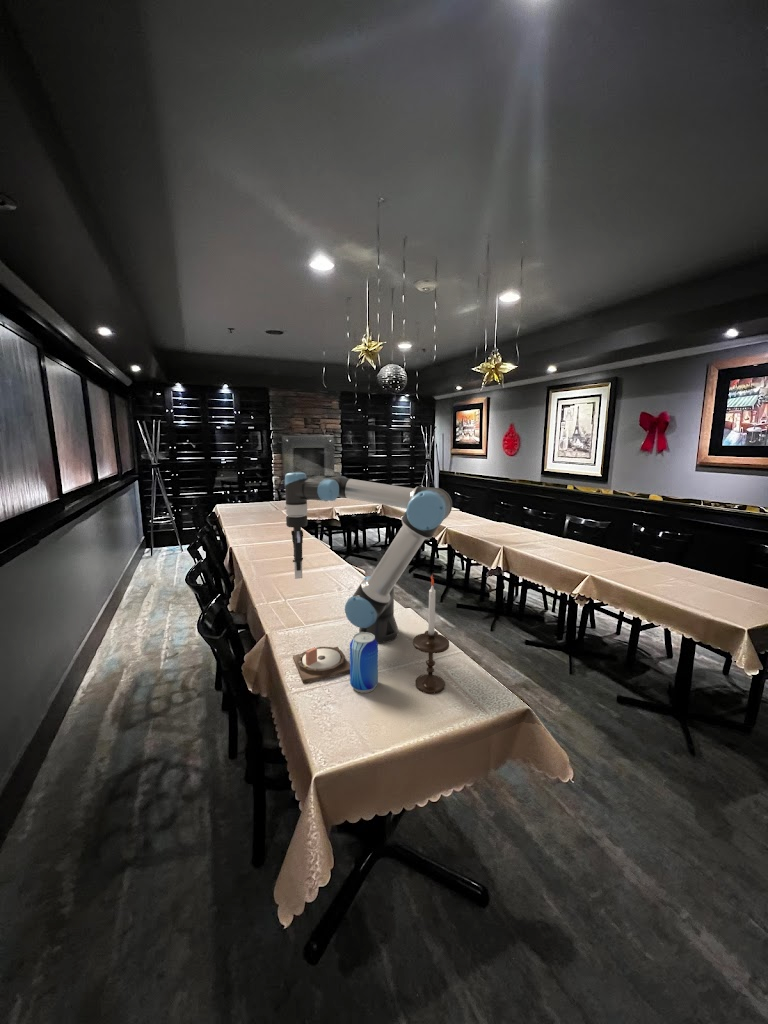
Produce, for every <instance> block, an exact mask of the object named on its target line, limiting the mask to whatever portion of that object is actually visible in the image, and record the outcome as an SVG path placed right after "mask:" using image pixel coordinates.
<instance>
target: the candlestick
mask: <svg viewBox="0 0 768 1024" xmlns="http://www.w3.org/2000/svg"><path fill="white" fill-rule="evenodd" d="M433 576H434V575H433V574H431V576H430V579H431V582H430V584H431V587H430V589H429V590H428V619H427V620H428V625H427V626H428V629H427V630H425V631H424V633H420V634H417V635H415V636H414V637H413V639H412V646H413V647H414V648H415V649H416V650H417V651H419V652H423V653H426V654H428V658H427V659H426V660H425V663H426V666H427V667H426V669H425V671H426V672H427V674H421V675H419V676H418V677H416V678H415V683H414V685H415V688H416V689H417V690H418V691H419V692H421V693H424V694H428V695H435V694H440V693H441V692H443V691H444V689H445V688H446V682H445V680H444V679H443V678H442V677H441V676H438V675H436V674H433V673H434V672H435V668H434V667H435V665H436V661H435V660H434V654H440V653H444V652H446V651H448V650H449V648H450V640H449V638H447V637H446V636H444V635H442V634H439V632H438V631H436V630H435V625H436V623H435V621H436V589H435V588H434V587H435V586H434V584H435V580H434V577H433Z"/></svg>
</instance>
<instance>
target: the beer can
mask: <svg viewBox="0 0 768 1024" xmlns="http://www.w3.org/2000/svg"><path fill="white" fill-rule="evenodd" d="M349 665H350V673H349V676H350V677H349V684H350V686H351V687H352V689H353V690H354V691H355V692H357V693H360V694H361V693H362V694H365V693H366V694H367V693H371V692H373V691H374V690H375V688H376V687H377V686H378V684H379V643H377V641H376V639H375V636H374V635H373V634H371V633H368V632H361V633H359V632H357V633H354V635H353V636H352V639H351V641H350V643H349Z"/></svg>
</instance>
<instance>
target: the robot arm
mask: <svg viewBox="0 0 768 1024" xmlns="http://www.w3.org/2000/svg"><path fill="white" fill-rule="evenodd" d="M284 491H285V493H284V494H285V506H284V507H283V510H285V515H286V518H285V519H286V520H285V525H286V527H288V528H293V529H292V530H291V532H290V533H291V537H292V539H291V541H292V545H293V557H294V558H293V560H292V563H294V564H293V566H294V569H293V570H294V579H296V580H297V579H303V560H304V557H303V541H304V540H303V537H304V531H303V529H302V528H305V527H307V526H308V501H309V500H311V501H324V502H334V501H336V500H337V498H343V499H349V500H356V501H360V502H366V503H371V504H372V503H373V504H379V505H383V506H389V507H395V508H401V509H406V511H405V512H404V514H403V515H402V517H401V519H400V520H401V524H402V526H401V527H400V529H399V530H398V532H397V533H396V535H395V537H394V539H392V542H391V543H390V545H389V546H388V548H387V549H386V551H385V553H384V554H383V556H382V557H381V559H380V560H379V562H378V563H377V565H376V567H375V568H374V570H373V572H372V573H371V575H367V576H364V578H363V580H362V581H361V583H359V586H358V587H357V589H356V591H355V592H354V594H353V595H351V597H349V598H348V599H347V601H346V602H345V605H344V612H345V616H346V618H347V620H348V622H350V623H351V624H352V625H353V626H355V627H357V628H359V630H358V631H359V632H358V633H361V632H368V633H371V634H373V635H374V636H375V639H376V641H377V643H378V644H382V643H387V642H388V643H389V642H391V641H394V640H396V638H397V637H398V636H399V628H398V624H397V622H396V621H397V620H396V618H395V616H394V615H395V613H394V612H395V611H394V607H395V605H394V604H395V599H394V598H395V585H396V584H397V582H398V580H399V579H400V578H401V577H402V574H404V571H405V570H406V569H407V567H408V566H409V564H410V563H411V561H412V559H413V558H414V556H416V554H417V552H418V550H419V549H420V548H421V546H422V545H423V543H424V541H426V540H428V539H432V538H433V536H434V535H435V533H436V532H437V530H438V529H439V527H440V526H441V524H443V521H445V520H446V519H447V518H448V517H449V515H450V513H452V512H451V511H452V509H453V500H452V498H451V496H450V494H449V493H448V492H447V491H445V490H444V489H443V488H440V487H428V486H426V487H425V486H420V485H419V486H416V487H415V488H412V487H407V486H400V485H392V484H387V483H380V482H374V481H367V480H360V479H353V478H348V477H346V476H343V475H335V476H332V477H327V478H325V477H324V478H308V477H307V474H306V473H305V472H288V473H285V476H284Z"/></svg>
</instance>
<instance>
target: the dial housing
mask: <svg viewBox="0 0 768 1024" xmlns="http://www.w3.org/2000/svg"><path fill="white" fill-rule="evenodd" d="M316 648H317V649H322V648H326V649H332V650H335V651H337V652H338V653H339V654H340V657H341V661H340V663H338V664H336V665H335V666H333V667H330V668H325V669H317V668H315V669H310V668H308V667H307V666H304V665H303V664H302V658H303V656H304V655H305V654H306V651H308V650H310V649H311V648H309V649H307V650H306V651H303V652H301V653H298V654H294V655H292V660H293V663H294V665H295V667H296V670H297V672H298V674H299V678H300V679H301V682H302V684H307V683H311V682H315V681H320V680H321V681H322V680H324V679H329V678H334V677H338V676H342V675H346V674H350V662H348V661H347V659H346V656H345V654H344V652H343V651H342V650H341V649H340V648H339V646H334V647H333V646H317V647H316Z"/></svg>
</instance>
